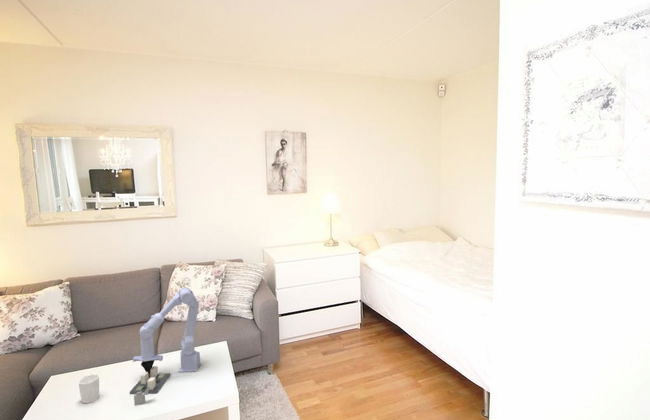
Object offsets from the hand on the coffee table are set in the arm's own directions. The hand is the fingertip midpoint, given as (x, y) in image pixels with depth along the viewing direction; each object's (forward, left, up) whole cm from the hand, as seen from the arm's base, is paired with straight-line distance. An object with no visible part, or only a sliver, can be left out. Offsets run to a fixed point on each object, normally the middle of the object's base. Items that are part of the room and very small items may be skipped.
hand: (149, 373), depth 173 cm
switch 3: (-6, +10, -1) cm, 12 cm away
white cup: (+20, +15, -3) cm, 25 cm away
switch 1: (0, +5, -1) cm, 5 cm away
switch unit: (-3, +5, -3) cm, 7 cm away
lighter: (-7, +19, -3) cm, 20 cm away
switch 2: (-3, 0, -1) cm, 3 cm away
